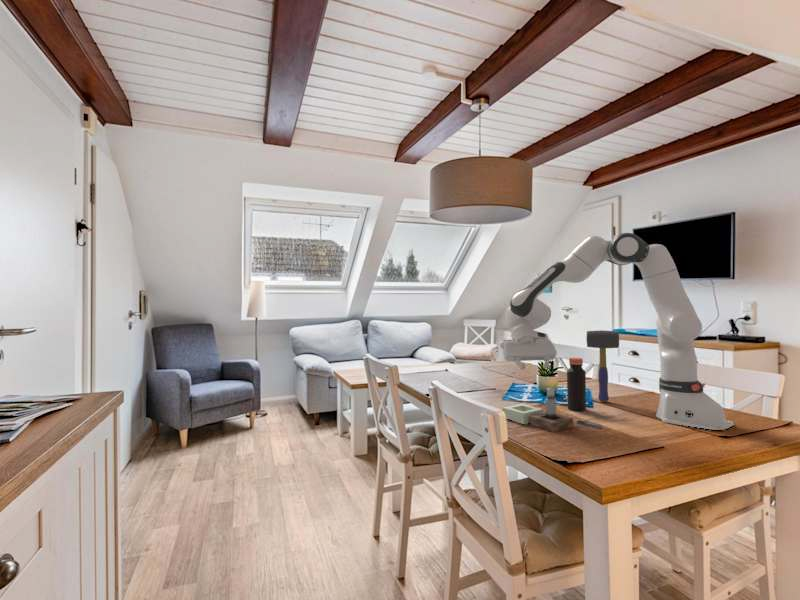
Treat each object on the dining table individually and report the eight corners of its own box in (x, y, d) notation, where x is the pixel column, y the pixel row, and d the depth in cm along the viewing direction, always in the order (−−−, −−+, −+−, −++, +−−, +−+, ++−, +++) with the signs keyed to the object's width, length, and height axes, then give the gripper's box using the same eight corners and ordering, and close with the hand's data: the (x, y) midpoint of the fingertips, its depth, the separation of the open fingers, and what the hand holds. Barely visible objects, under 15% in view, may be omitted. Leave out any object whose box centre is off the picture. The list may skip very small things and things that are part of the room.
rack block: (543, 420, 155) (543, 409, 155) (523, 424, 149) (523, 413, 149) (522, 414, 163) (521, 403, 163) (503, 418, 158) (502, 407, 158)
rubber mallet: (587, 402, 179) (586, 330, 179) (587, 398, 186) (586, 329, 186) (620, 405, 174) (619, 331, 174) (619, 400, 181) (618, 329, 181)
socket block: (573, 426, 146) (572, 418, 146) (553, 432, 141) (553, 422, 141) (549, 420, 155) (549, 411, 155) (529, 424, 150) (529, 416, 150)
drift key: (602, 428, 145) (602, 425, 145) (599, 429, 144) (599, 426, 144) (579, 423, 151) (579, 420, 151) (576, 424, 150) (576, 421, 150)
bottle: (582, 406, 172) (581, 357, 172) (588, 411, 165) (587, 359, 165) (565, 406, 173) (564, 357, 173) (570, 411, 166) (569, 359, 166)
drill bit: (558, 426, 147) (558, 388, 147) (552, 427, 146) (551, 389, 145) (550, 423, 150) (549, 386, 150) (543, 425, 148) (543, 388, 148)
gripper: (500, 335, 166) (510, 364, 157) (551, 333, 169) (563, 362, 159) (497, 345, 171) (506, 374, 161) (546, 343, 173) (558, 372, 163)
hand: (535, 368), depth 160 cm, fingers open, 8 cm apart
